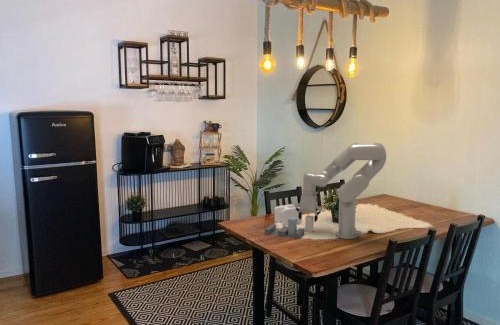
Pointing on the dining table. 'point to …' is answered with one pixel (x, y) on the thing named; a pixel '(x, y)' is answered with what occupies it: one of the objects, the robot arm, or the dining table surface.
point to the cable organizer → (286, 214)
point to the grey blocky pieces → (284, 232)
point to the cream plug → (309, 223)
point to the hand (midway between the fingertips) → (307, 220)
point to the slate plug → (292, 226)
